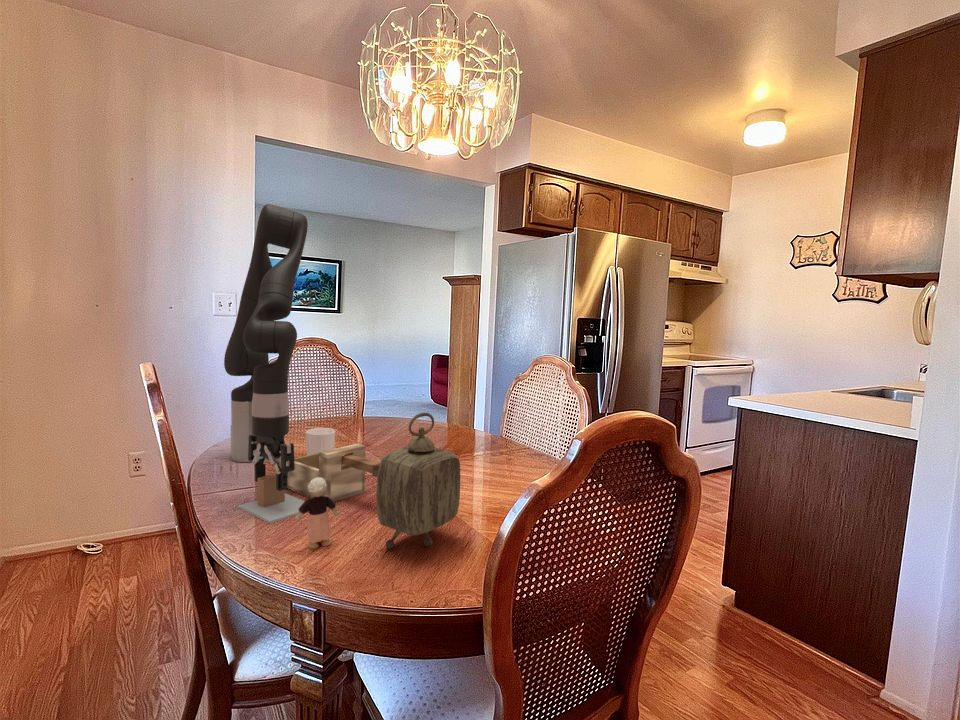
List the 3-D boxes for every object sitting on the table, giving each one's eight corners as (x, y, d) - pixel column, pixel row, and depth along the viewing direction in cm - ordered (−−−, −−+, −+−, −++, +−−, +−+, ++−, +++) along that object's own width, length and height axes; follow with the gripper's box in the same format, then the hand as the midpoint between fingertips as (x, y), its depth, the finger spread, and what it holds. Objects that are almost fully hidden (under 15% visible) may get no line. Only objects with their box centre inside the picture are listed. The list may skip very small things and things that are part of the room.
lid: (237, 509, 111) (237, 478, 110) (283, 496, 120) (284, 467, 119) (270, 525, 103) (270, 492, 103) (316, 510, 112) (317, 479, 112)
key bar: (340, 465, 117) (340, 455, 117) (351, 462, 120) (351, 452, 120) (375, 476, 110) (375, 465, 110) (386, 473, 113) (386, 462, 113)
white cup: (326, 471, 138) (326, 435, 137) (299, 469, 140) (299, 433, 139) (339, 463, 146) (340, 429, 145) (314, 461, 147) (314, 427, 146)
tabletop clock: (426, 525, 106) (430, 405, 103) (461, 536, 100) (466, 411, 98) (375, 549, 94) (377, 415, 92) (412, 564, 89) (415, 422, 86)
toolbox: (285, 488, 124) (285, 442, 123) (323, 477, 133) (324, 434, 132) (326, 504, 115) (327, 454, 114) (364, 492, 123) (365, 445, 122)
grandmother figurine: (331, 535, 99) (332, 471, 98) (340, 542, 96) (341, 477, 95) (292, 546, 94) (292, 479, 93) (300, 554, 91) (300, 484, 90)
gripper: (305, 415, 110) (304, 488, 111) (268, 406, 118) (268, 474, 120) (273, 420, 104) (273, 497, 105) (236, 410, 112) (237, 482, 114)
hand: (270, 485), depth 112 cm, fingers open, 8 cm apart
